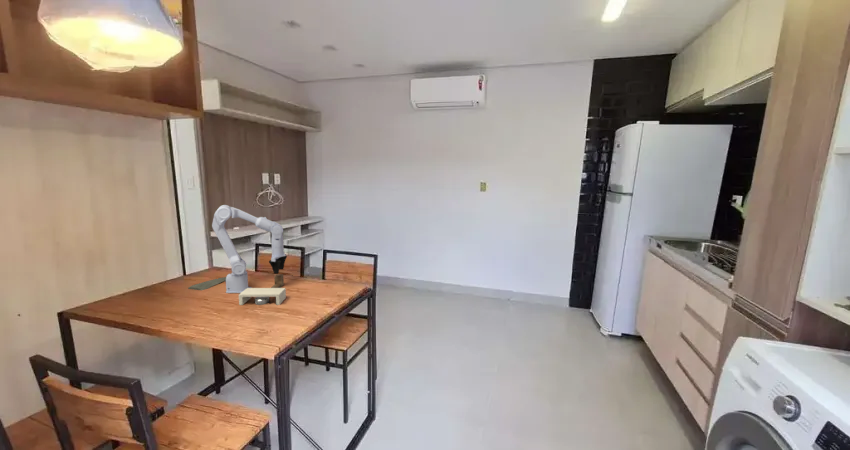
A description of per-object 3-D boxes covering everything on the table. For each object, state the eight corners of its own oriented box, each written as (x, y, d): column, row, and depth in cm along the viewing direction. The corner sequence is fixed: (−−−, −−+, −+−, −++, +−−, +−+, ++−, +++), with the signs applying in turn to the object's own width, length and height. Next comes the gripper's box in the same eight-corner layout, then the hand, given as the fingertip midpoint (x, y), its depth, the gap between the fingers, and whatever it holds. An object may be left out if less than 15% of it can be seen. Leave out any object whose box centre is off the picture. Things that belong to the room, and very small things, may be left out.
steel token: (252, 305, 159) (252, 300, 159) (258, 300, 165) (257, 295, 164) (266, 305, 159) (265, 300, 159) (271, 300, 165) (270, 295, 165)
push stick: (264, 296, 170) (264, 284, 169) (277, 285, 187) (276, 274, 186) (272, 296, 170) (271, 284, 169) (283, 285, 187) (283, 274, 186)
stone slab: (186, 292, 178) (202, 291, 176) (185, 286, 178) (201, 286, 175) (221, 279, 200) (235, 279, 197) (220, 275, 199) (234, 274, 197)
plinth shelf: (239, 305, 158) (238, 294, 158) (247, 297, 167) (247, 288, 167) (279, 304, 160) (279, 294, 159) (285, 297, 169) (285, 287, 168)
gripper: (280, 249, 175) (281, 275, 177) (289, 243, 189) (290, 267, 191) (266, 249, 175) (267, 275, 177) (276, 243, 189) (277, 267, 191)
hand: (278, 271), depth 184 cm, fingers open, 7 cm apart
